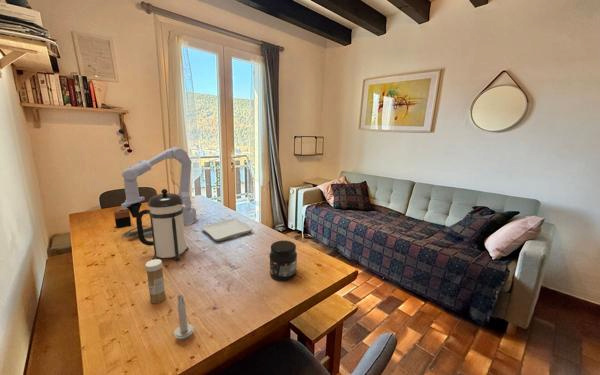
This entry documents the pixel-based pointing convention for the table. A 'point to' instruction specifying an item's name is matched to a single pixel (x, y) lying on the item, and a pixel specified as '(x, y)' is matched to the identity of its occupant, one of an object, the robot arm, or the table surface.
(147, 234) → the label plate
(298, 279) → the table surface
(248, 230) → the salad plate
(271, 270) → the supplement container
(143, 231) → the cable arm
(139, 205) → the robot arm
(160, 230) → the coffee press
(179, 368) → the table surface
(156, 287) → the sprinkles bottle
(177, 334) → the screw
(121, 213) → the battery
